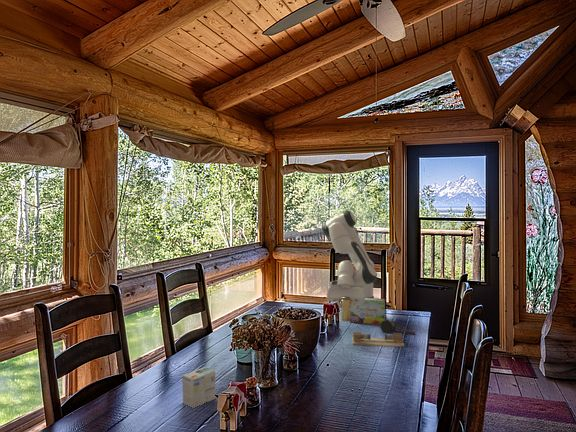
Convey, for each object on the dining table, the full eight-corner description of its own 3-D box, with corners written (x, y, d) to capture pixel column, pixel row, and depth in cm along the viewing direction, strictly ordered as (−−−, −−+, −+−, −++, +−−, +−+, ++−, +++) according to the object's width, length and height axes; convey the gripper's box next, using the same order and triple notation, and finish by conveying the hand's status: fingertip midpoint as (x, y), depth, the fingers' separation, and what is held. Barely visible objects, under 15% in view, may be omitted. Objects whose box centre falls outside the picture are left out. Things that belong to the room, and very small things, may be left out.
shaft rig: (352, 338, 232) (352, 330, 232) (401, 340, 229) (401, 331, 229) (352, 344, 222) (352, 336, 222) (404, 346, 219) (404, 337, 219)
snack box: (349, 322, 265) (349, 298, 265) (350, 320, 271) (350, 296, 270) (384, 325, 259) (384, 300, 259) (385, 322, 264) (385, 298, 264)
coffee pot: (378, 331, 245) (385, 330, 252) (408, 341, 234) (414, 340, 240) (381, 318, 246) (388, 317, 252) (410, 328, 234) (417, 327, 240)
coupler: (341, 319, 230) (341, 296, 230) (350, 319, 229) (349, 296, 229) (341, 321, 225) (341, 298, 225) (350, 321, 225) (350, 298, 224)
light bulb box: (204, 394, 165) (204, 366, 165) (216, 398, 161) (216, 370, 161) (181, 404, 157) (181, 374, 157) (193, 409, 153) (193, 379, 152)
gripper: (364, 289, 237) (365, 311, 227) (327, 288, 240) (326, 310, 230) (364, 282, 232) (365, 304, 223) (326, 282, 235) (326, 304, 226)
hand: (345, 307), depth 226 cm, fingers closed on coupler, 4 cm apart
